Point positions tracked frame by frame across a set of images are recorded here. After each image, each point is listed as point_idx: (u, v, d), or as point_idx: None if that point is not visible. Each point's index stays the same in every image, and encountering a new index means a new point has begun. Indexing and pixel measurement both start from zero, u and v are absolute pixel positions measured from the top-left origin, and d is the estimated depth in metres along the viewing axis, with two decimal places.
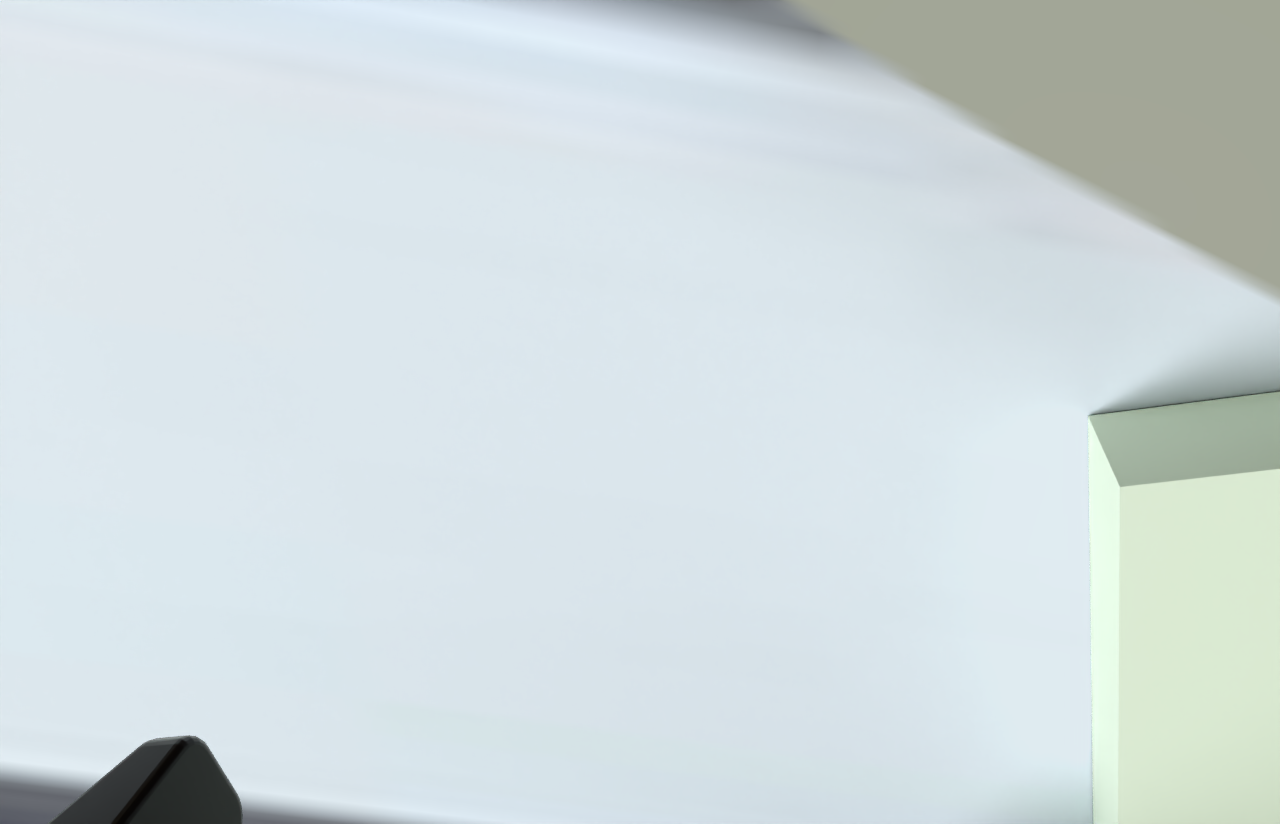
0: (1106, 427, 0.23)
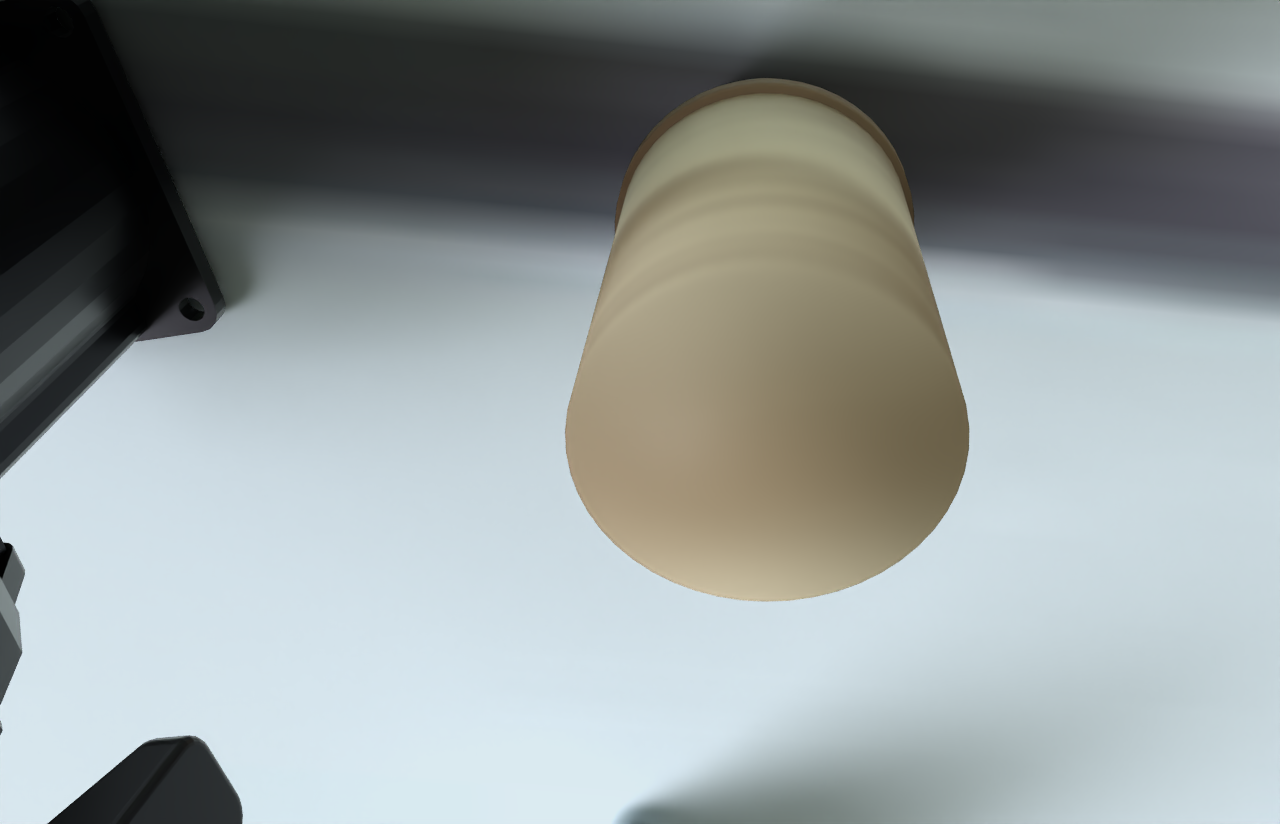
0: None
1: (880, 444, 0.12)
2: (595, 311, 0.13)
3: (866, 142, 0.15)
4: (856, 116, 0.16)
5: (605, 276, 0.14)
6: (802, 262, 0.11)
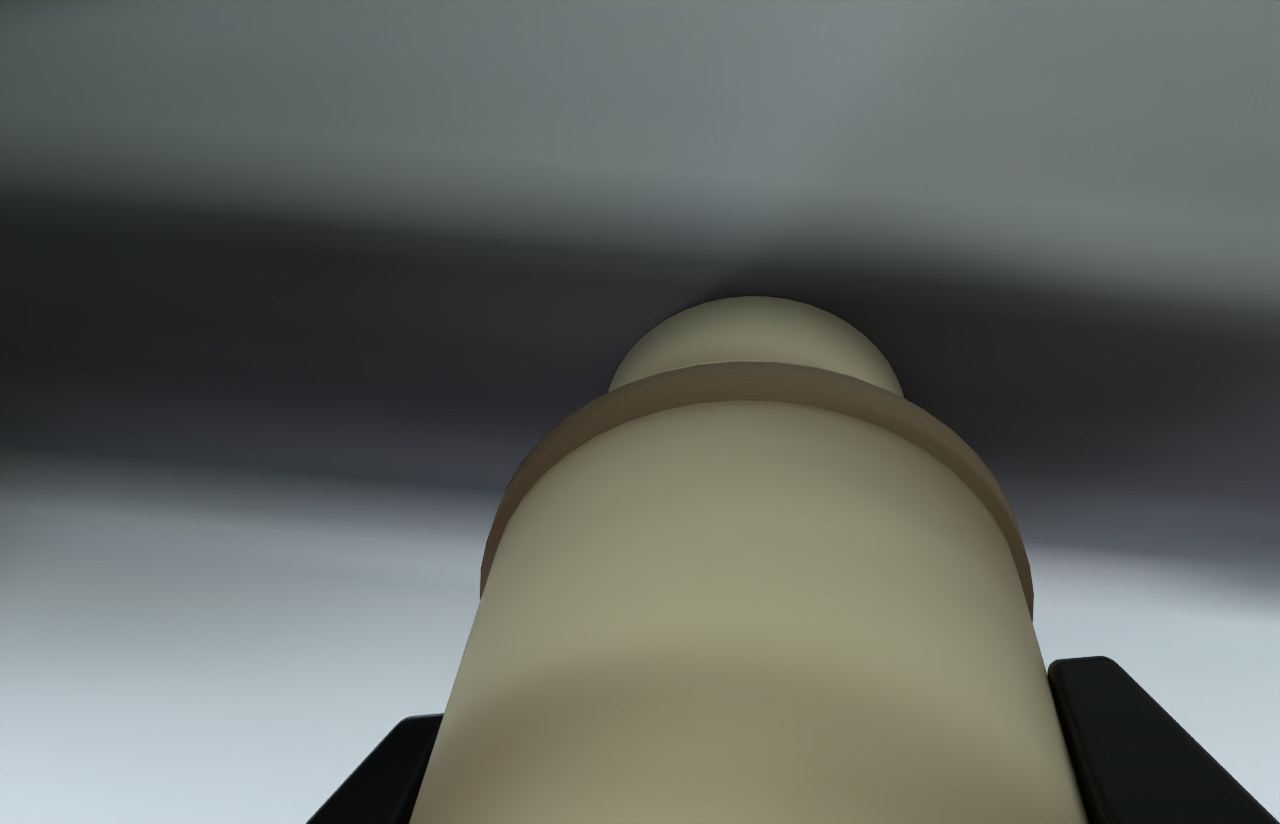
0: None
1: None
2: None
3: (950, 512, 0.08)
4: (926, 440, 0.08)
5: None
6: None
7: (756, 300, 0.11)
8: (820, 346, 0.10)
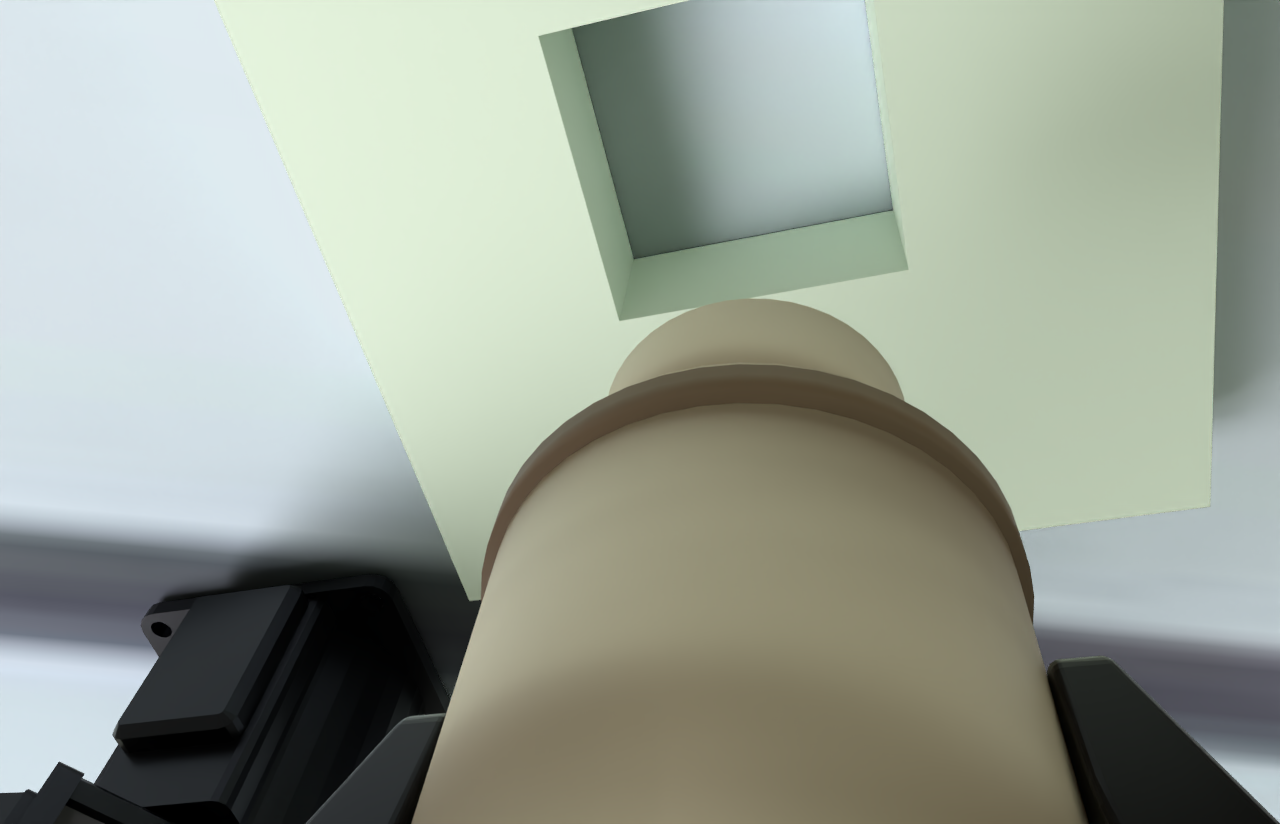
0: None
1: None
2: None
3: (950, 515, 0.08)
4: (926, 443, 0.08)
5: None
6: None
7: (756, 302, 0.11)
8: (820, 348, 0.10)
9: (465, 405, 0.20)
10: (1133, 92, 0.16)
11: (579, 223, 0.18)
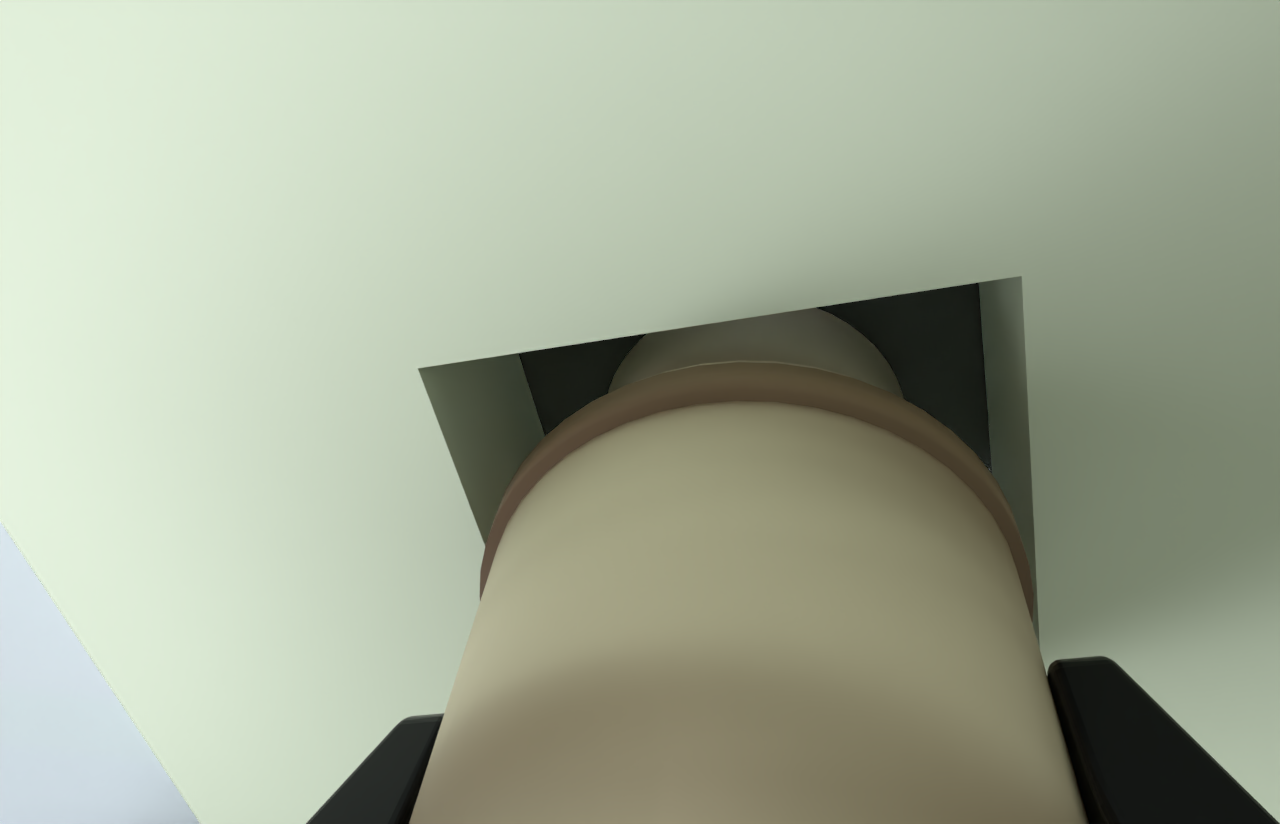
0: None
1: None
2: None
3: (950, 513, 0.08)
4: (925, 441, 0.08)
5: None
6: None
7: None
8: (819, 347, 0.10)
9: None
10: None
11: None
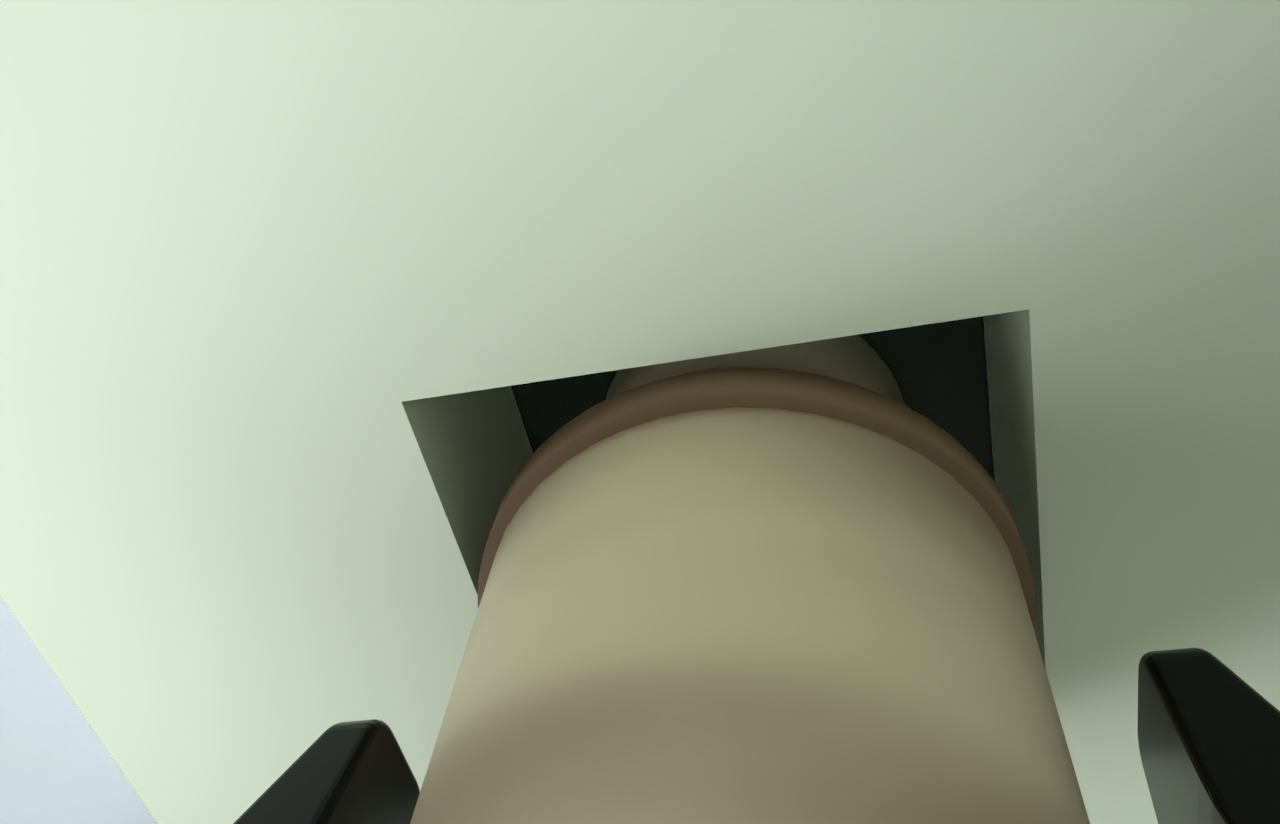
0: None
1: None
2: None
3: (952, 520, 0.08)
4: (927, 447, 0.08)
5: None
6: None
7: None
8: (819, 352, 0.10)
9: None
10: None
11: None
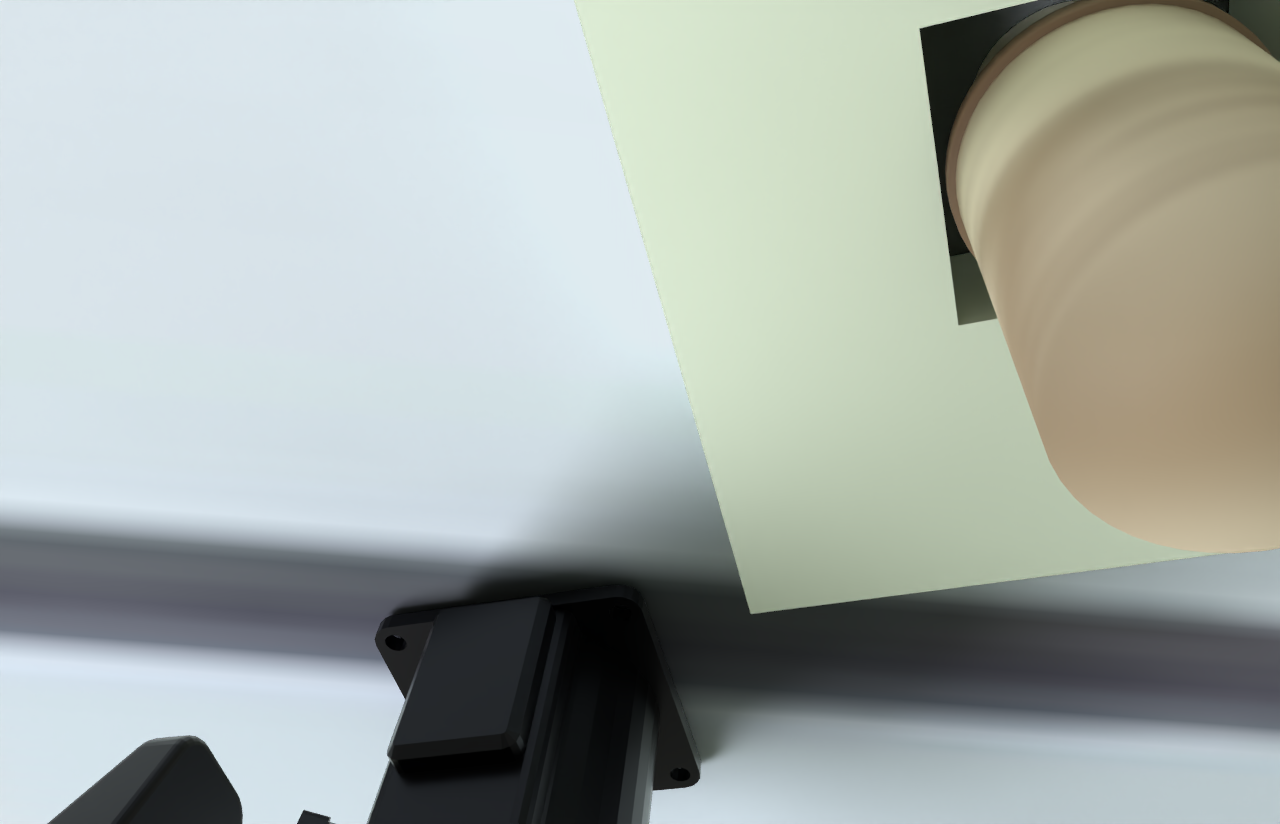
0: None
1: None
2: (1033, 240, 0.12)
3: None
4: (1237, 23, 0.15)
5: (1020, 205, 0.13)
6: None
7: None
8: None
9: (777, 414, 0.19)
10: None
11: (932, 224, 0.17)
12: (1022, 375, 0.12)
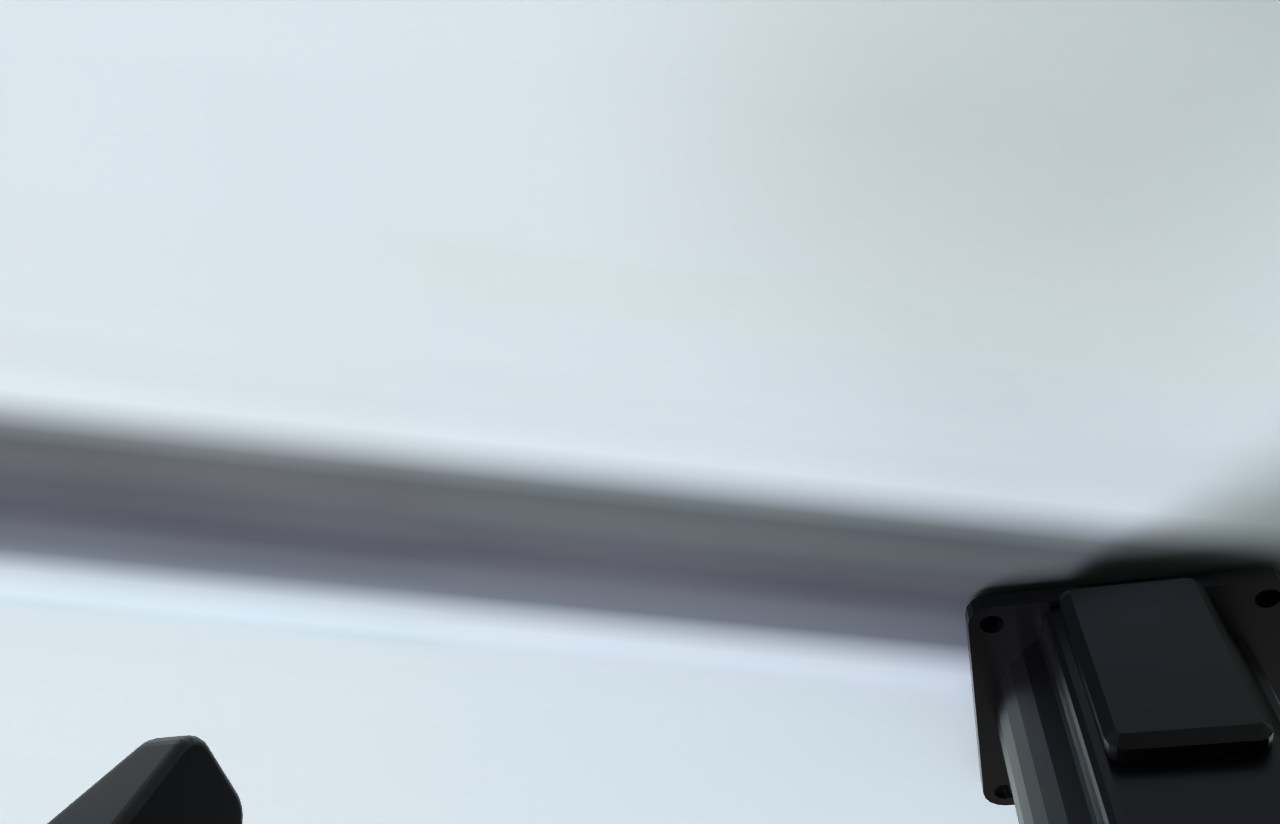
0: None
1: None
2: None
3: None
4: None
5: None
6: None
7: None
8: None
9: None
10: None
11: None
12: None
